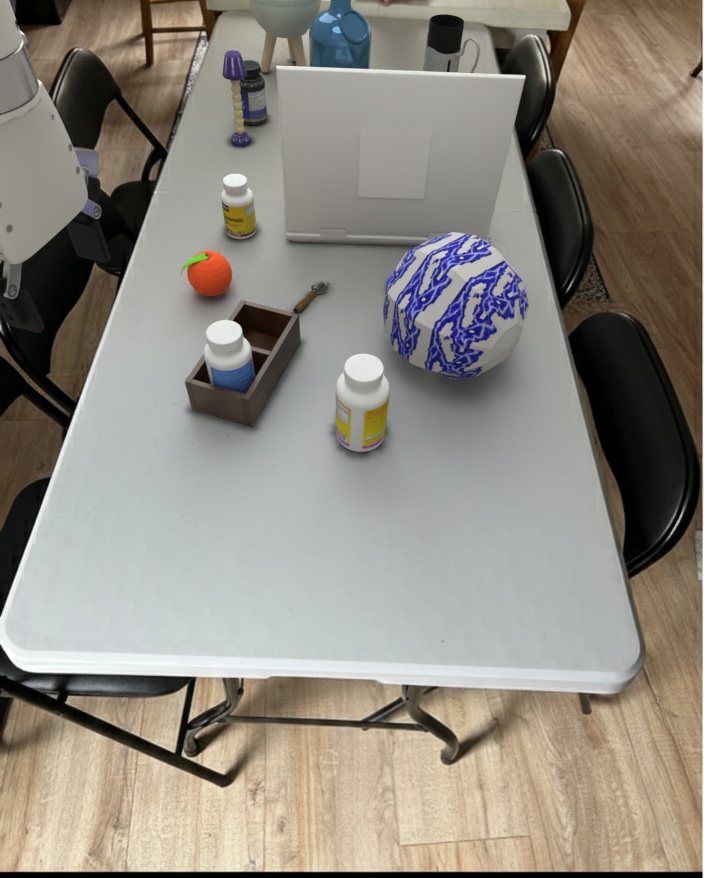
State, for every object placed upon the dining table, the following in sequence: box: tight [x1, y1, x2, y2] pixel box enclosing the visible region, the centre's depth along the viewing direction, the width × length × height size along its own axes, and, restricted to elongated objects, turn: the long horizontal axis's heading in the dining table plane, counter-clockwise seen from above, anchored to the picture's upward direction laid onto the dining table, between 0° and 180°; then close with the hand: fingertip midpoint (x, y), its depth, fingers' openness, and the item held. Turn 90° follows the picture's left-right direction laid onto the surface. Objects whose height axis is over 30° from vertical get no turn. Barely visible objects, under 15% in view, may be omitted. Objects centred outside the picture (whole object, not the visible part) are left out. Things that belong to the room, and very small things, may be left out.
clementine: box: [180, 250, 233, 297], centre depth 97 cm, size 8×7×7 cm
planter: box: [248, 0, 321, 74], centre depth 142 cm, size 16×16×22 cm
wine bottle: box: [308, 0, 372, 69], centre depth 129 cm, size 14×13×30 cm
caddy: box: [184, 299, 301, 428], centre depth 87 cm, size 9×17×6 cm, turn 161°
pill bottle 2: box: [239, 59, 268, 126], centre depth 131 cm, size 6×6×11 cm
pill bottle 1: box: [203, 319, 255, 394], centre depth 82 cm, size 6×6×11 cm
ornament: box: [382, 232, 529, 380], centre depth 86 cm, size 20×20×20 cm
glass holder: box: [422, 13, 481, 73], centre depth 138 cm, size 9×14×15 cm, turn 43°
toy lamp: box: [222, 49, 252, 147], centre depth 123 cm, size 5×5×17 cm
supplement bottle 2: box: [335, 353, 391, 453], centre depth 78 cm, size 7×7×13 cm
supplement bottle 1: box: [220, 173, 257, 240], centre depth 106 cm, size 5×5×10 cm
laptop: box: [275, 65, 526, 247], centre depth 105 cm, size 35×26×28 cm
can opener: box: [292, 280, 330, 314], centre depth 99 cm, size 9×2×1 cm, turn 144°
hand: (62, 290), depth 53 cm, fingers open, 9 cm apart
